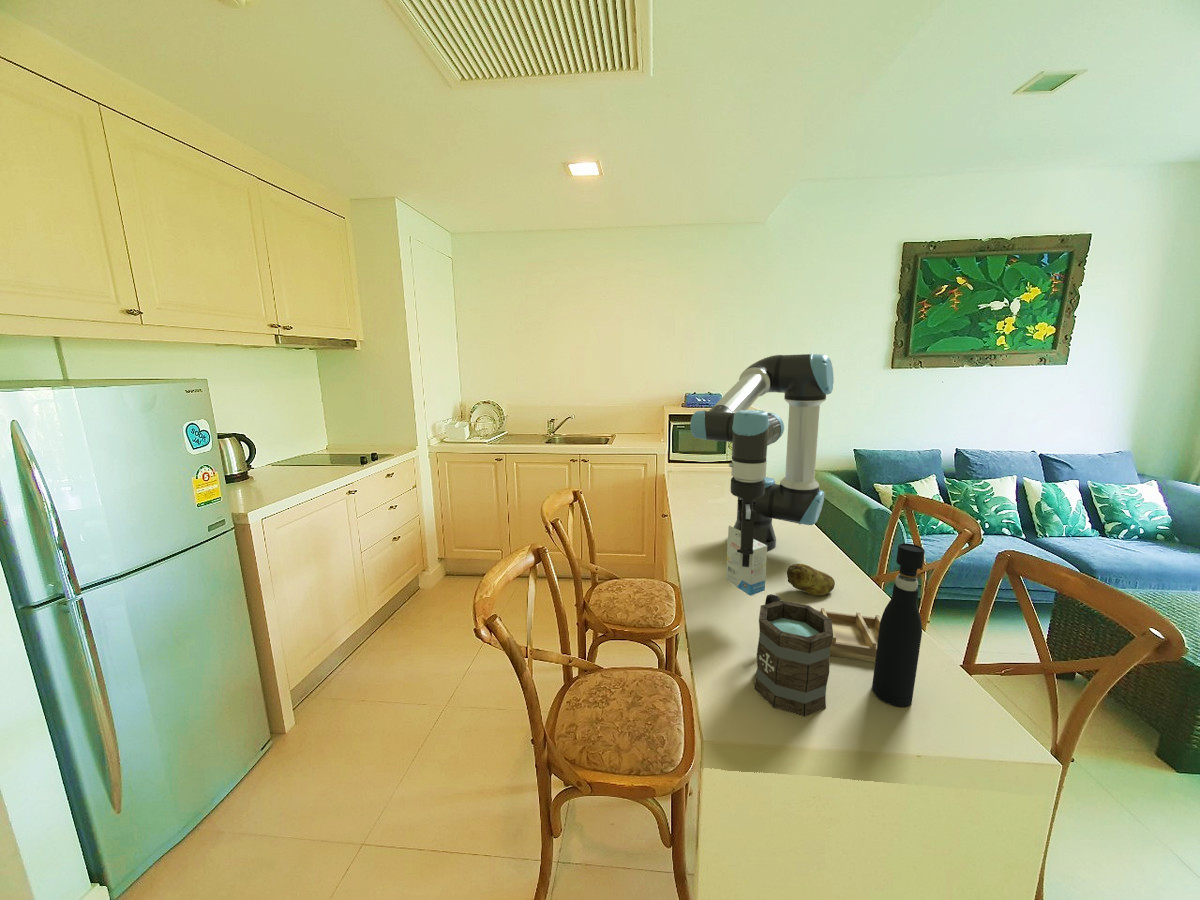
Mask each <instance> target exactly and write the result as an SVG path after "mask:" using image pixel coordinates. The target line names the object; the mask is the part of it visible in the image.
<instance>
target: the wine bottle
mask: <svg viewBox="0 0 1200 900" xmlns="http://www.w3.org/2000/svg"><path fill="white" fill-rule="evenodd" d="M925 551H926V549H924V547H922V546H920V545H917V544H912V543H907V542H906V543H905V542H903V543H899V544H898V546H897V554H896V560H895V562H896V564H898V565H899V571H898V574H897V576H896V577H895V582H894V584H893V586H892V587H893V588H892V594H891V598H890V599H889V602H888V603H887V605H886V606H885V608H884V611H883V613H882V615H881V617H880V618H881V621H880V627H879V635H878V643H877V651H876V659H875V662H874V669H873V677H872V685H871V690H872V692H873V694H874V695H875V696H876V697H877V698H878V699H879V700H880V701H882V702H884V703H886V704H888V705H890V706H892V707H893V706H894V707H897V708H906V707H909V706H911V705H912V703H913V697H914V692H915V691H914V690H915V684H916V677H917V671H918V664H919V663H918V662H919V656H920V648H921V642H922V636H923V626H922V619H921V615H920V610H919V607H918V597H919V591H920V590H919V588H918V587H919V586H918V585H919V581H918V578H917V577H918V574H917V573H918V570H921V569H923V566H924V560H925V559H924V557H925V553H926V552H925Z"/></svg>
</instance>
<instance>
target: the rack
mask: <svg viewBox="0 0 1200 900" xmlns="http://www.w3.org/2000/svg"><path fill="white" fill-rule="evenodd" d="M816 610H817V609H816ZM817 611H819V612H820V613H822V614H823V615H825V616H827V617H828V618H830V619H831V621H832V629H833V638H832V642H831V646H830V655H829V656H833V657H838V658H845V659H852V660H853V659H854V660H859V661H866V662H872V663H875V659H876V651H877V643H878V635H879V627H880V621H881V618H882V617H881V616H880V615H879V614H875V617H873V616H865V615H862V614H861V613H860V612H856V614H850V613H842V612H834V611H826V609H825V608H823V607H821V608H820V610H819V609H818V610H817Z"/></svg>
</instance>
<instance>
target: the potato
mask: <svg viewBox="0 0 1200 900" xmlns="http://www.w3.org/2000/svg"><path fill="white" fill-rule="evenodd" d="M786 578H787V582H788V584H790V585H792V587H793V588H795V589H796V590H798V591H801V592H804V593H807V594H808V595H811V596H825V595H827V594H829V593H831V592H832V591H833V590H834V588H835V584H836V581H835V579H834V578H833V577H832V576H831V575H830V574H828V573H826V572H823V571H820V570H817V569H815V568H813V567H812V566H810V565H808V564H804V563H793V564H791V565H789V566H788V568H787V570H786Z"/></svg>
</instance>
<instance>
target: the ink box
mask: <svg viewBox="0 0 1200 900" xmlns="http://www.w3.org/2000/svg"><path fill="white" fill-rule="evenodd" d="M727 527H728V530H727V531H728V533H727V542H726V543H727V544H726V545H727V547H726V570H725V571H726V573H725V575H726V576H725V581H726V582H728V583H730V584H731V585H733V586H734V587H736V588H737V589H739V590H741V591H742V592H743V593H745V594H747V595H748V596H750V597H751V596H754V595H756V594H759V593H762V592H764V591H766V578H767V573H766V572H767V556H768V555H767V554H768V550H767V545H765V544H763V543H761V542H759V541H757V540H755V539H754V538H753V555H752V567H751V579H745V578H739V577H738V575H739V553H738V552H737V550H740V548H741V531H740V530H738V529H735V528H734V526H732V525H728V526H727ZM736 534H737V535H736Z"/></svg>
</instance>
